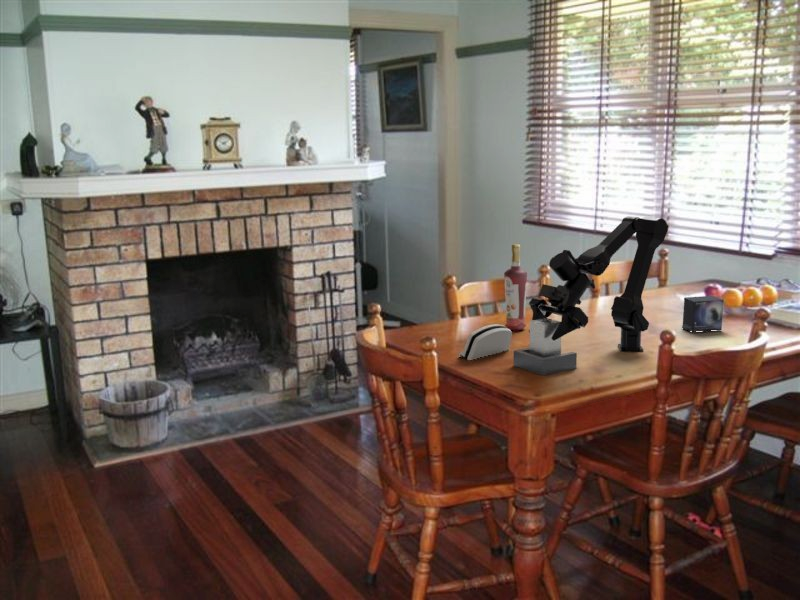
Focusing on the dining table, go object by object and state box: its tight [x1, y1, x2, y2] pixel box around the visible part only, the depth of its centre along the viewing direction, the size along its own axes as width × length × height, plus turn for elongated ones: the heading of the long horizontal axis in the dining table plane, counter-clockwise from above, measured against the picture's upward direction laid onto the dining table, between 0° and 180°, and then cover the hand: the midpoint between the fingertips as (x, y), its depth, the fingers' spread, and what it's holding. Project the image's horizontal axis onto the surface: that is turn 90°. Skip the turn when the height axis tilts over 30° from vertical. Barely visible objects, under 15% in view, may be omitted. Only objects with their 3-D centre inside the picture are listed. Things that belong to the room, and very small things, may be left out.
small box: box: [681, 295, 724, 332], centre depth 256 cm, size 11×6×10 cm, turn 102°
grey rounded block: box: [458, 323, 513, 361], centre depth 234 cm, size 17×5×10 cm, turn 131°
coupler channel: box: [513, 346, 578, 376], centre depth 220 cm, size 12×12×4 cm
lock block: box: [529, 317, 562, 358], centre depth 219 cm, size 6×6×12 cm
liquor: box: [503, 243, 528, 332], centre depth 262 cm, size 7×7×28 cm
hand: (541, 336), depth 218 cm, fingers open, 9 cm apart
